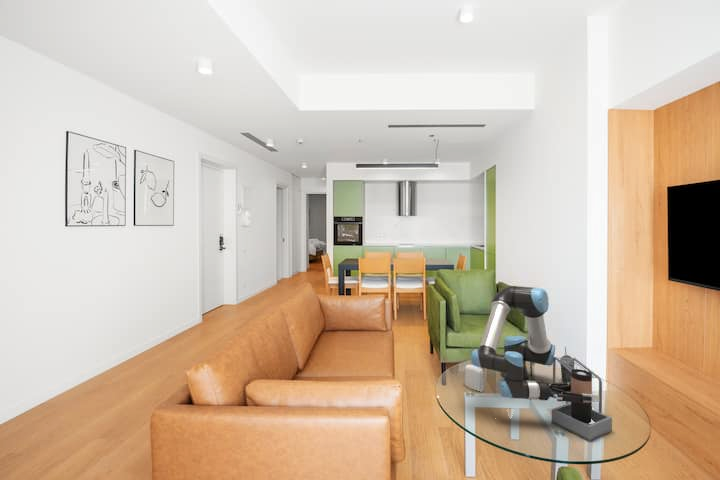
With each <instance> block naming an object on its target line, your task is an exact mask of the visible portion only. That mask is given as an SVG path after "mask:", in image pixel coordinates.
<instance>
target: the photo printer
mask: <svg viewBox="0 0 720 480" xmlns="http://www.w3.org/2000/svg"><path fill="white" fill-rule="evenodd" d="M464 369H465V370H464V371H465V373H464V376H465V378H464V379H465V380H464V382H465V383H464V385H465V387H467V388H469V389H470V390H471V389H472V390H473V389H474V391H476V390H477V391H476V392H479V391H480V392H479V393H482V392H484V390H485V371H484V368H480V367H477V366H474V365H473V364H466V365H465V368H464Z"/></svg>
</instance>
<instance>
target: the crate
mask: <svg viewBox="0 0 720 480" xmlns="http://www.w3.org/2000/svg"><path fill="white" fill-rule="evenodd" d="M595 410H596V409H595ZM595 410H591V419H592V420H593V421H594V422H595V423H593V424H589V423H583V422H581V421H579V420H576V419H574V418H572V417H571V402H569V404H567V403H565V404H563V405H560V406H558V407H555V408H552V409H551V419H550V420H551V424H553V425H555V426H556V427H559V428H561V429H563V430H564V431H566V432H569V433H571V434H572V435H575V436H576V437H579V438H581V439H583V440H585V441H586V442H589V443H590V442H593V441H595V440H597V439H600V438H602V437H604V436H606V435H608V434H610V433H612V432H613V417H611V416H609V415H606V414H605V413H600V412H599V411H598V410H596V411H595ZM597 411H598V412H597Z"/></svg>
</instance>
